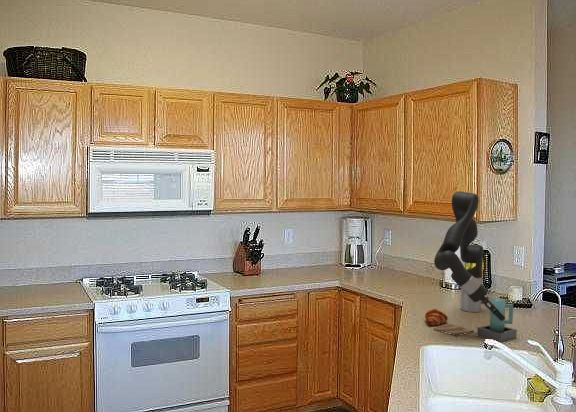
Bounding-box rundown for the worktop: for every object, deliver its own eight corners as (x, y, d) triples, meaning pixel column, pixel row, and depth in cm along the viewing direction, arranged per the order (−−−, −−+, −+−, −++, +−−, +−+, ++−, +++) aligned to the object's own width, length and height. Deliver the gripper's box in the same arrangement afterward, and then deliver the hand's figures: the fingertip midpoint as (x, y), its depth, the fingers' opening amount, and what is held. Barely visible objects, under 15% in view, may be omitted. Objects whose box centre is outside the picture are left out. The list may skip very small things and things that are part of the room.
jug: (490, 338, 235) (492, 300, 235) (487, 334, 241) (488, 297, 241) (513, 339, 234) (514, 301, 233) (509, 335, 240) (511, 298, 239)
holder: (477, 335, 239) (477, 327, 239) (493, 331, 246) (493, 323, 246) (500, 342, 230) (500, 333, 230) (516, 337, 237) (516, 329, 236)
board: (433, 330, 248) (433, 328, 248) (451, 326, 255) (451, 324, 255) (456, 336, 238) (456, 334, 238) (473, 332, 245) (473, 330, 245)
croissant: (435, 323, 272) (428, 308, 274) (454, 316, 268) (446, 300, 269) (423, 333, 254) (416, 316, 255) (444, 325, 249) (436, 308, 251)
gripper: (483, 285, 231) (512, 315, 230) (476, 279, 245) (504, 307, 244) (469, 298, 232) (498, 328, 231) (463, 291, 246) (491, 319, 245)
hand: (501, 317), depth 237 cm, fingers closed on jug, 6 cm apart
